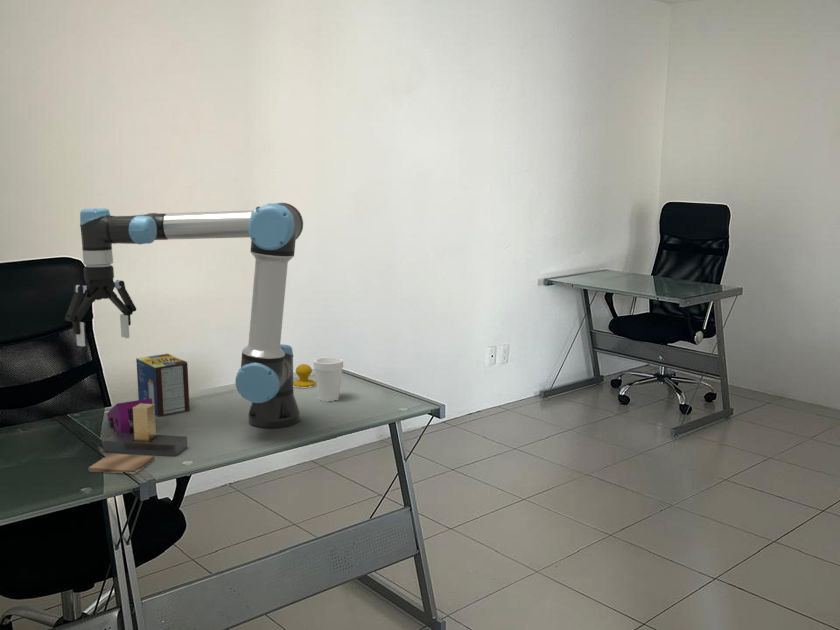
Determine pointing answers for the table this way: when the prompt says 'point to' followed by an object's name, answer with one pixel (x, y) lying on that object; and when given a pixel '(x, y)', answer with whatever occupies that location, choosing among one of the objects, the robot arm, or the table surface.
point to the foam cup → (328, 377)
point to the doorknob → (304, 376)
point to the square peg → (144, 422)
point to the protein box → (164, 383)
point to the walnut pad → (121, 463)
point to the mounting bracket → (124, 414)
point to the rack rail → (145, 444)
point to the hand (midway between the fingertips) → (103, 341)
